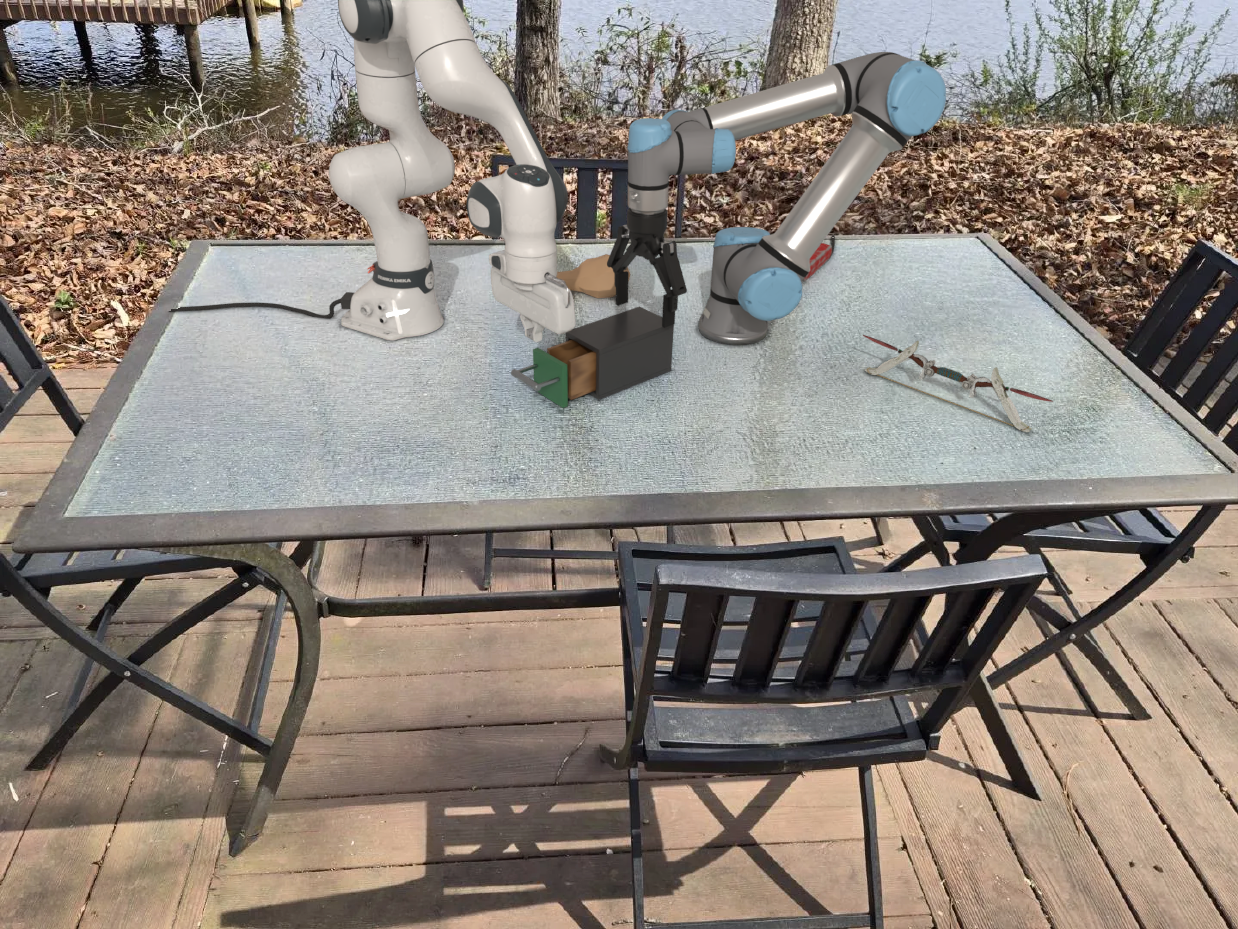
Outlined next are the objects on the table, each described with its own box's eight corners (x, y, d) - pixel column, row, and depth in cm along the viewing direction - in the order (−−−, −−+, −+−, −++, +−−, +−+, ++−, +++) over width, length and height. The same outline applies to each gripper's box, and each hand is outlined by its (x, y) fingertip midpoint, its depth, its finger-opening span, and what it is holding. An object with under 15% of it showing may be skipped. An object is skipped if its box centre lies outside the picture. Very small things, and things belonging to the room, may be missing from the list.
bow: (1043, 434, 162) (1060, 387, 156) (1039, 438, 161) (1056, 390, 155) (858, 366, 183) (867, 322, 178) (854, 369, 182) (862, 324, 177)
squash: (632, 302, 209) (628, 269, 203) (549, 309, 210) (543, 277, 204) (632, 277, 217) (628, 245, 210) (552, 285, 218) (546, 253, 212)
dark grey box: (598, 400, 169) (599, 349, 163) (565, 380, 175) (565, 331, 169) (671, 370, 180) (674, 322, 174) (637, 353, 186) (639, 306, 180)
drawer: (538, 418, 161) (537, 375, 156) (510, 399, 167) (507, 357, 162) (634, 379, 174) (636, 339, 170) (605, 363, 180) (605, 323, 175)
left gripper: (584, 279, 145) (584, 354, 153) (512, 245, 158) (515, 316, 166) (554, 288, 142) (555, 364, 150) (482, 252, 155) (487, 324, 162)
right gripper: (588, 196, 168) (590, 299, 180) (680, 230, 153) (674, 340, 165) (618, 189, 172) (617, 290, 184) (710, 220, 157) (702, 329, 169)
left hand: (533, 338), depth 158 cm, fingers closed
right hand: (644, 314), depth 174 cm, fingers open, 13 cm apart
